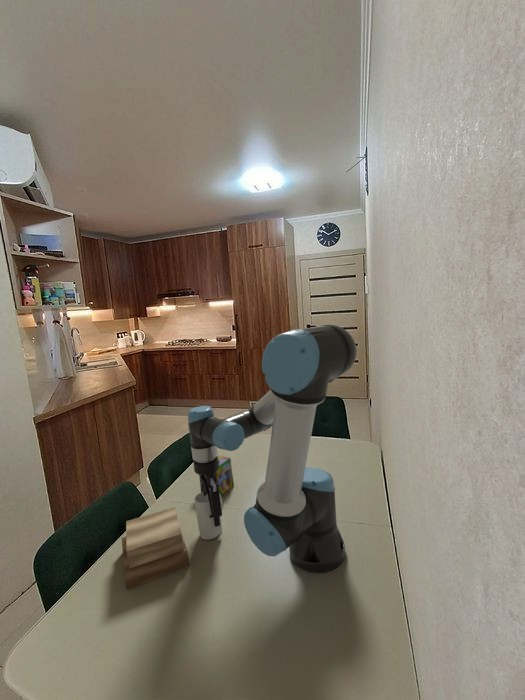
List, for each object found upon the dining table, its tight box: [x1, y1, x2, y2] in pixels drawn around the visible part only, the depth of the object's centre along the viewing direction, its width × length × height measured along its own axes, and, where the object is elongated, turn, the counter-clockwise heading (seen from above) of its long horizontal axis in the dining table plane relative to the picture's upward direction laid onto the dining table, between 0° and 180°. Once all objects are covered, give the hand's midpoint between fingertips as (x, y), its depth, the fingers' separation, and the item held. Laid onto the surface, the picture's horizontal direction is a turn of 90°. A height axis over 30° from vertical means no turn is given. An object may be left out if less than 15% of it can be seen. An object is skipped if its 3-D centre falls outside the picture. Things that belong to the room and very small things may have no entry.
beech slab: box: [125, 506, 184, 568], centre depth 98 cm, size 14×14×5 cm
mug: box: [194, 492, 224, 541], centre depth 108 cm, size 10×7×12 cm, turn 144°
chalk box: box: [214, 455, 235, 497], centre depth 132 cm, size 9×9×15 cm
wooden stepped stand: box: [121, 536, 190, 591], centre depth 98 cm, size 16×16×5 cm
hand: (213, 527), depth 107 cm, fingers closed on mug, 6 cm apart
